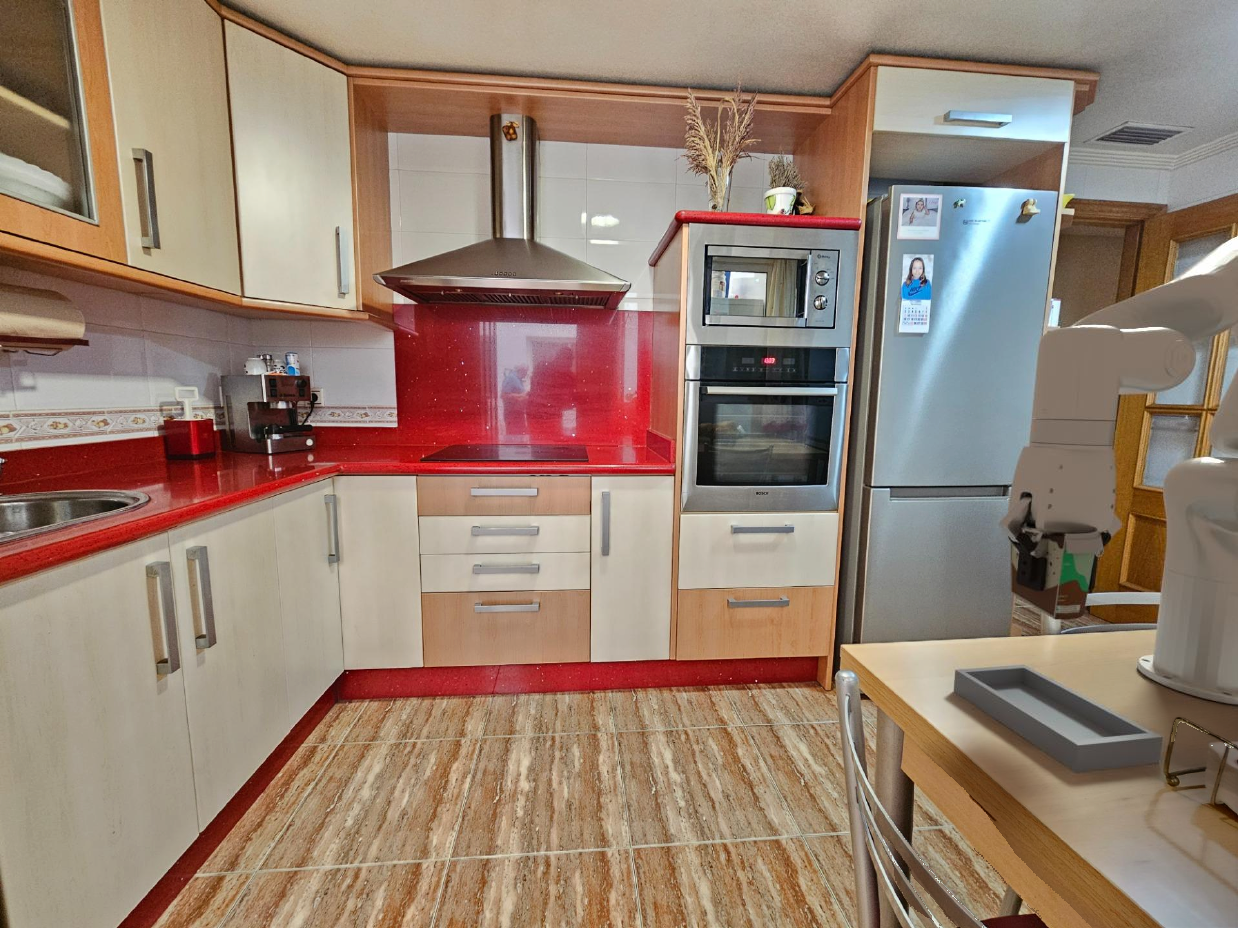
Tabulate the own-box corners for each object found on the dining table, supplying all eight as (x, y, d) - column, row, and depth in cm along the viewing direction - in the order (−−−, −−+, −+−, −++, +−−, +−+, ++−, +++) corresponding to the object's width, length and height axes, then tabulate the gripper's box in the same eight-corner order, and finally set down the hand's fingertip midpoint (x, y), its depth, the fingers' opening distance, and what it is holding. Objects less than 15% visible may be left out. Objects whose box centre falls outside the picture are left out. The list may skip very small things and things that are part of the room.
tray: (1022, 685, 75) (1023, 664, 74) (1159, 762, 58) (1162, 736, 58) (953, 690, 73) (955, 669, 73) (1075, 772, 57) (1078, 745, 56)
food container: (1127, 627, 59) (1134, 536, 58) (1062, 624, 60) (1068, 534, 59) (1056, 591, 71) (1061, 515, 70) (1004, 588, 72) (1008, 514, 71)
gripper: (1101, 435, 68) (1085, 575, 70) (978, 433, 66) (965, 578, 67) (1169, 439, 61) (1150, 595, 62) (1034, 436, 58) (1018, 599, 60)
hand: (1054, 585), depth 65 cm, fingers closed on food container, 6 cm apart
